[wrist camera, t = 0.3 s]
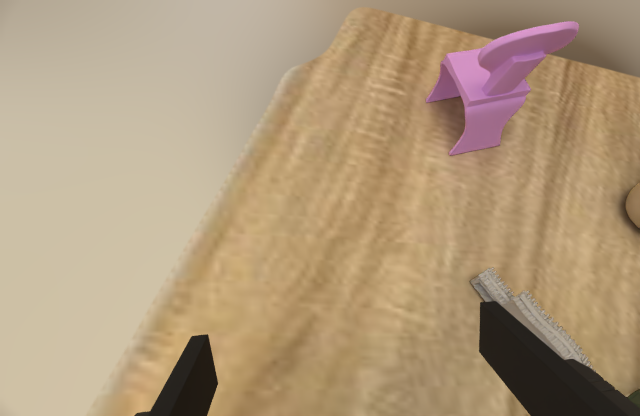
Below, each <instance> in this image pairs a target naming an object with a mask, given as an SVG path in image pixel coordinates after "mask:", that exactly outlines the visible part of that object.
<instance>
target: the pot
mask: <svg viewBox="0 0 640 416" xmlns="http://www.w3.org/2000/svg"><path fill="white" fill-rule="evenodd" d="M628 399H629V400H630V401H631V402H633V403H634V404H635V405H636V406H638V407H639V408H640V390H638V391H636V392H634V393H633V394H631V395H630V396H629V397H628Z"/></svg>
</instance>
